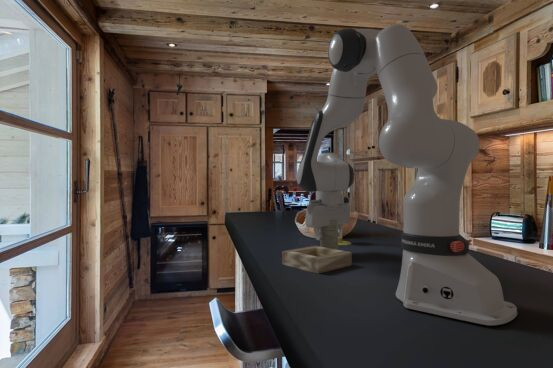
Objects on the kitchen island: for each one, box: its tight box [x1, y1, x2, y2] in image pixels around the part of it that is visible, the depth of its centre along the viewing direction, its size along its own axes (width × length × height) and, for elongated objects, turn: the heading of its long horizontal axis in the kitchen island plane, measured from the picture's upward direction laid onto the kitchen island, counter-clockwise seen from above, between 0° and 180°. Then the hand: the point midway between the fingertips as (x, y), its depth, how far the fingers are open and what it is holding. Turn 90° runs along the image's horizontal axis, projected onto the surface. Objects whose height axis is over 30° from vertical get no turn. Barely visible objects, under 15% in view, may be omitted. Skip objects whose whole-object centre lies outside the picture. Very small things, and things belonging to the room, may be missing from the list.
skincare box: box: [319, 220, 339, 250], centre depth 124 cm, size 6×4×12 cm
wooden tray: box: [281, 245, 353, 274], centre depth 108 cm, size 15×15×4 cm
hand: (328, 238), depth 124 cm, fingers open, 8 cm apart
